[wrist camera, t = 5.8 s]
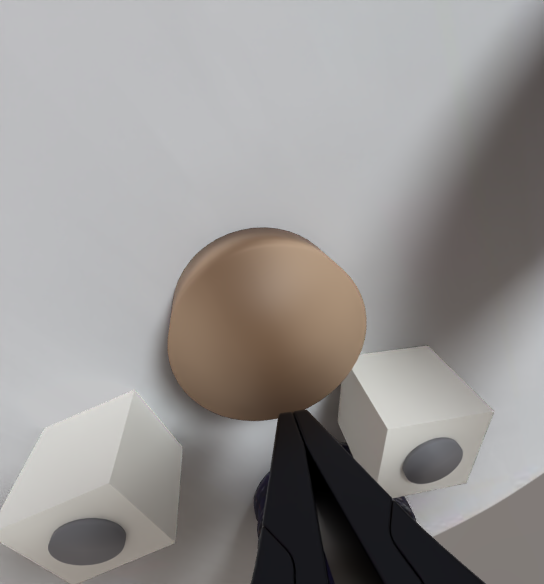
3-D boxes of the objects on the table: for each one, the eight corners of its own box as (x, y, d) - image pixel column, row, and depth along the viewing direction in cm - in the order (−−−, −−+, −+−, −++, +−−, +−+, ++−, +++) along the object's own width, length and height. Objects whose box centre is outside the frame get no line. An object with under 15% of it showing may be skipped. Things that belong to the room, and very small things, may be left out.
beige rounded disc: (316, 199, 14) (344, 213, 11) (352, 342, 18) (380, 378, 15) (139, 267, 14) (125, 297, 11) (213, 398, 17) (217, 445, 15)
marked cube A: (426, 344, 19) (499, 415, 14) (411, 408, 21) (469, 488, 16) (343, 355, 18) (390, 434, 13) (337, 420, 20) (375, 507, 16)
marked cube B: (135, 388, 17) (107, 489, 12) (183, 446, 19) (175, 549, 14) (45, 427, 17) (-17, 542, 12) (104, 479, 19) (71, 592, 14)
